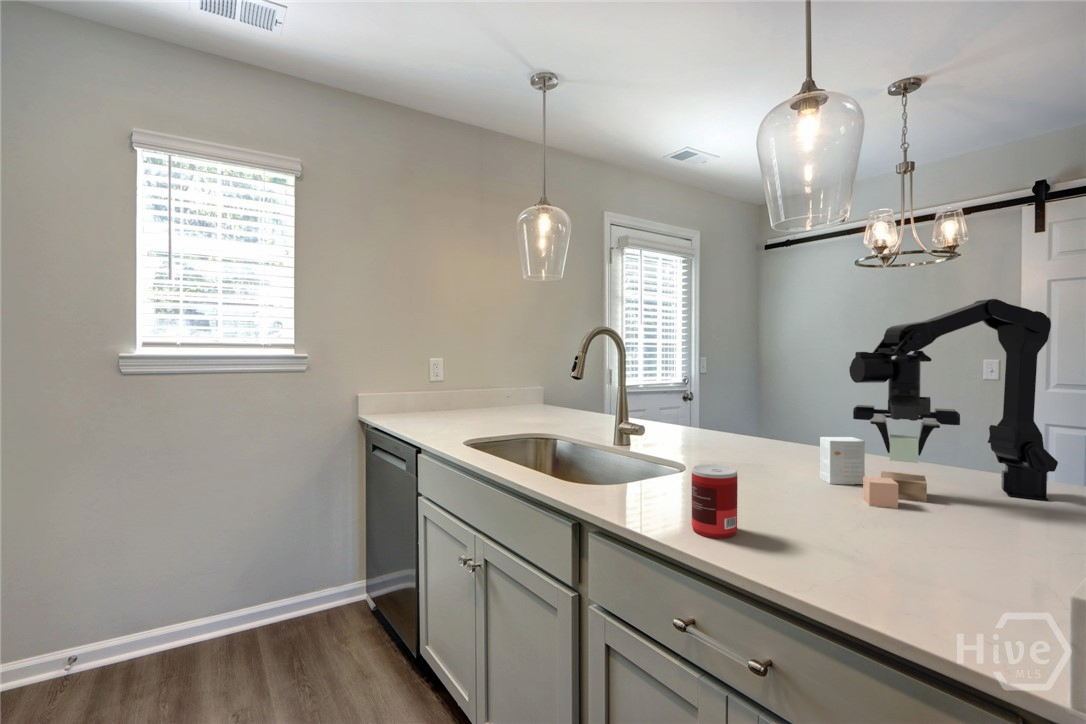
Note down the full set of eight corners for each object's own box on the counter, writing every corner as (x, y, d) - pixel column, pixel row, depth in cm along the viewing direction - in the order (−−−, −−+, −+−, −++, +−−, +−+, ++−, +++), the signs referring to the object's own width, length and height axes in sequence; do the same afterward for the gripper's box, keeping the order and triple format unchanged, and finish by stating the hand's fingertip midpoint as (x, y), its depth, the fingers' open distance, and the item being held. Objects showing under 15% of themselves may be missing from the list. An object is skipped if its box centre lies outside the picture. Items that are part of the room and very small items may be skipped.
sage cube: (917, 458, 113) (917, 436, 113) (918, 463, 109) (918, 439, 109) (889, 456, 116) (890, 434, 116) (889, 460, 112) (889, 437, 111)
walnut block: (924, 493, 114) (924, 475, 113) (926, 502, 107) (926, 483, 107) (881, 488, 118) (881, 471, 118) (880, 496, 111) (880, 478, 111)
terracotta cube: (890, 501, 108) (890, 478, 108) (898, 508, 103) (898, 484, 103) (863, 499, 110) (863, 476, 110) (869, 506, 105) (869, 482, 105)
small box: (853, 479, 127) (853, 436, 126) (865, 485, 121) (865, 440, 121) (819, 478, 127) (819, 436, 127) (829, 484, 122) (829, 440, 122)
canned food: (736, 526, 93) (736, 465, 93) (737, 541, 86) (738, 476, 86) (692, 521, 96) (692, 462, 96) (690, 536, 88) (690, 472, 88)
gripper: (851, 383, 110) (851, 455, 111) (963, 386, 100) (962, 466, 100) (854, 380, 120) (854, 447, 120) (957, 383, 109) (956, 456, 110)
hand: (903, 454), depth 112 cm, fingers closed on sage cube, 5 cm apart
